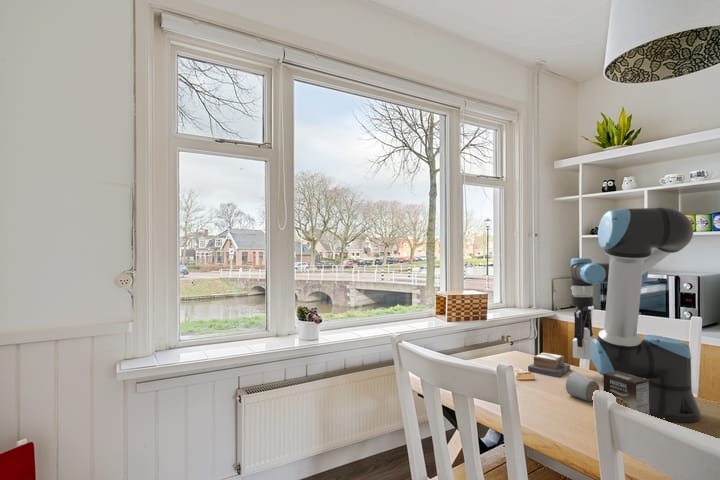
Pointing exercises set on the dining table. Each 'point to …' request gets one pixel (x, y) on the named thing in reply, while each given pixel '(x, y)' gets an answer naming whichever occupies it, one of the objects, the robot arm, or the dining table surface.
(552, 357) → the pedestal stand
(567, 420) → the dining table surface
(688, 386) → the robot arm
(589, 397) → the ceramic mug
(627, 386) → the coffee box
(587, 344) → the medicine bottle
